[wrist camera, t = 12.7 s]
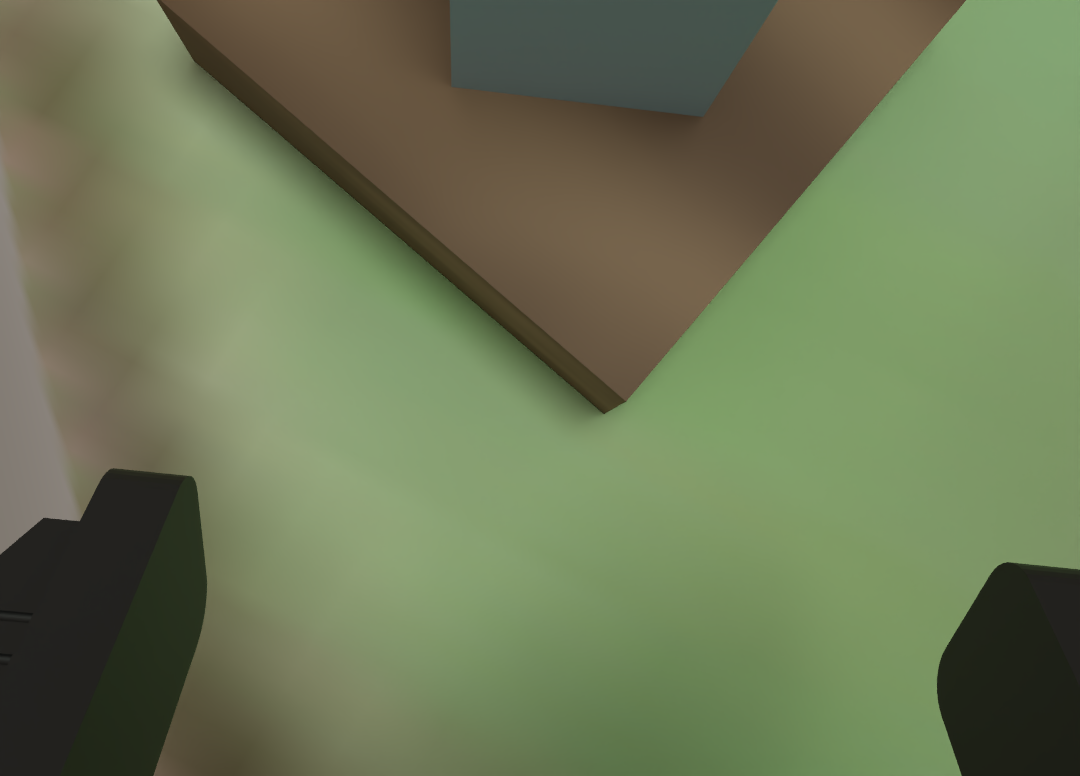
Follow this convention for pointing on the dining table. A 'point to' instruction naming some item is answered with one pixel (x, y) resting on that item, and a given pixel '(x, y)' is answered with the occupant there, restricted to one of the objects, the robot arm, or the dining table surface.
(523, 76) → the teal block
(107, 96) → the dining table surface
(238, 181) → the dining table surface
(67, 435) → the dining table surface
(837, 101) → the walnut board
